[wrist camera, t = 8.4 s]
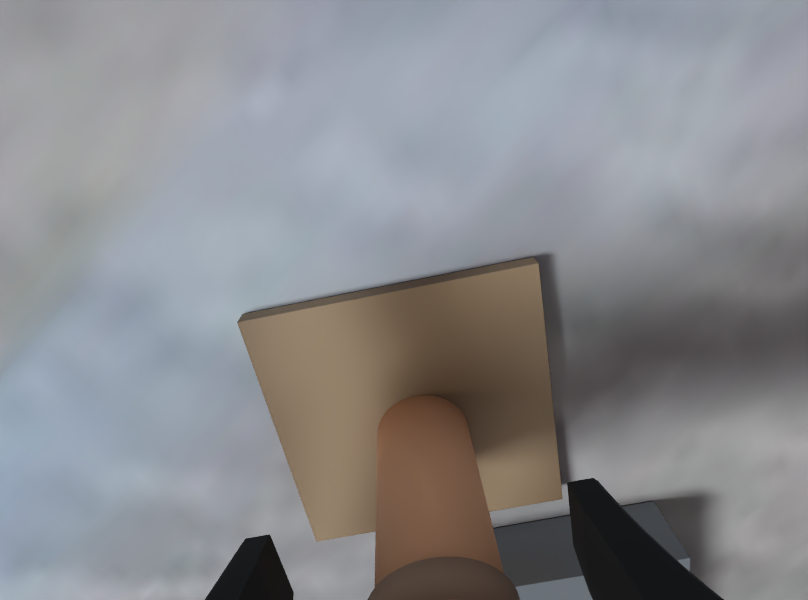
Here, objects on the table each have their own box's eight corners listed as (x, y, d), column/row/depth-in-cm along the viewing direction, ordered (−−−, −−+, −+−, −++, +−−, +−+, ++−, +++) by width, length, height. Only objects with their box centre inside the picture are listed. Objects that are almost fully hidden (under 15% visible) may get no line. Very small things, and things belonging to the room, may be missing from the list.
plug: (384, 482, 18) (384, 712, 11) (360, 401, 16) (344, 610, 10) (481, 463, 17) (539, 686, 11) (464, 380, 16) (519, 578, 10)
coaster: (318, 528, 19) (316, 541, 19) (242, 313, 16) (237, 322, 15) (557, 486, 19) (562, 498, 18) (533, 256, 15) (538, 263, 15)
